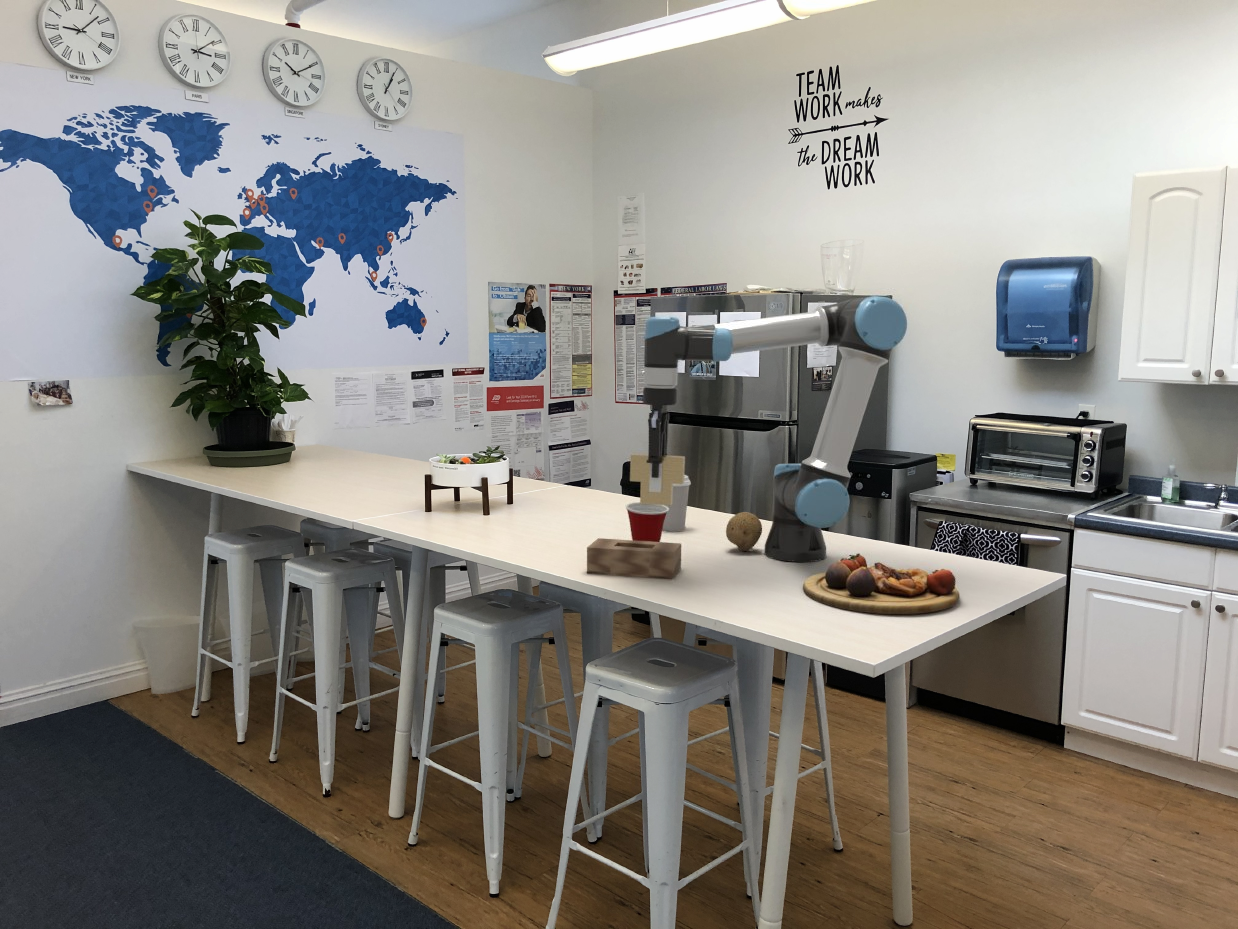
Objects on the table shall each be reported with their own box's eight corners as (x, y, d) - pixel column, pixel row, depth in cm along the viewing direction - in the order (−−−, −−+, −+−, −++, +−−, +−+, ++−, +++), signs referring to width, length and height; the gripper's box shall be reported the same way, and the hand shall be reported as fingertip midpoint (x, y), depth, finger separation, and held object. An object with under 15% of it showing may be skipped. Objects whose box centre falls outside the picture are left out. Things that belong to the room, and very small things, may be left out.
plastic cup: (644, 560, 231) (645, 511, 230) (616, 552, 240) (616, 505, 238) (677, 554, 238) (678, 506, 237) (648, 546, 247) (649, 500, 245)
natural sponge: (746, 556, 236) (747, 517, 235) (718, 550, 242) (719, 512, 241) (768, 551, 242) (769, 512, 241) (739, 545, 249) (740, 507, 247)
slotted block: (680, 568, 224) (681, 543, 223) (673, 579, 214) (673, 553, 213) (598, 562, 229) (598, 538, 228) (586, 573, 219) (586, 547, 218)
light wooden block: (683, 504, 218) (685, 456, 216) (681, 506, 215) (683, 457, 214) (631, 500, 220) (632, 453, 219) (629, 502, 218) (630, 454, 216)
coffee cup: (687, 533, 262) (688, 479, 260) (653, 531, 264) (653, 478, 262) (692, 526, 271) (693, 474, 269) (658, 524, 273) (659, 472, 271)
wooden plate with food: (984, 595, 205) (986, 557, 204) (915, 626, 182) (916, 584, 181) (851, 571, 226) (852, 537, 225) (774, 597, 203) (774, 558, 202)
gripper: (650, 384, 222) (647, 484, 226) (636, 387, 207) (633, 495, 211) (682, 385, 221) (678, 486, 224) (670, 389, 206) (666, 497, 209)
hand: (656, 490), depth 217 cm, fingers closed on light wooden block, 2 cm apart
